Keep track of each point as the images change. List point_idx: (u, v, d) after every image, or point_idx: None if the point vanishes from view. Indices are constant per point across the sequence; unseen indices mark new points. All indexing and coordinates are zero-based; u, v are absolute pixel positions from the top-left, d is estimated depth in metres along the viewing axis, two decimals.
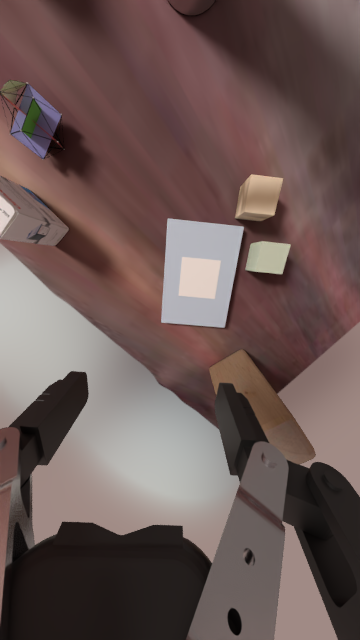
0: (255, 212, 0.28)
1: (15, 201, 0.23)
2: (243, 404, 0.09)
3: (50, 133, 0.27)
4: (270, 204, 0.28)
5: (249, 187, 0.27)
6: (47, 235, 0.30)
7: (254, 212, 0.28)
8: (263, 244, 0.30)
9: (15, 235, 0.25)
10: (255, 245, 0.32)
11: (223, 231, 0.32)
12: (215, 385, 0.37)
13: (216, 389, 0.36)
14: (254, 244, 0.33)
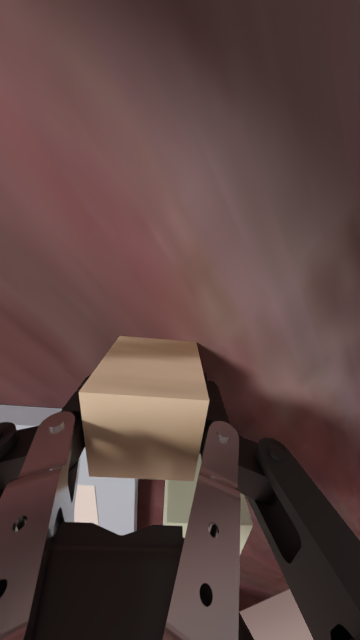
0: (128, 476, 0.08)
1: None
2: (212, 391, 0.10)
3: None
4: (175, 460, 0.08)
5: (87, 425, 0.07)
6: None
7: (125, 475, 0.08)
8: None
9: None
10: None
11: None
12: None
13: None
14: None
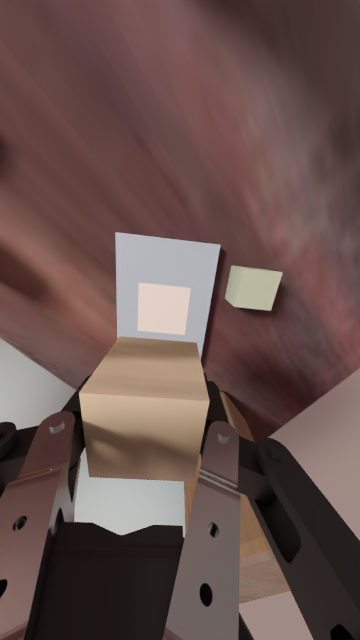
0: (128, 476, 0.08)
1: None
2: (212, 391, 0.10)
3: None
4: (175, 461, 0.08)
5: (87, 426, 0.07)
6: None
7: (125, 475, 0.08)
8: (245, 271, 0.22)
9: None
10: (236, 270, 0.24)
11: (192, 250, 0.24)
12: None
13: None
14: (235, 268, 0.24)
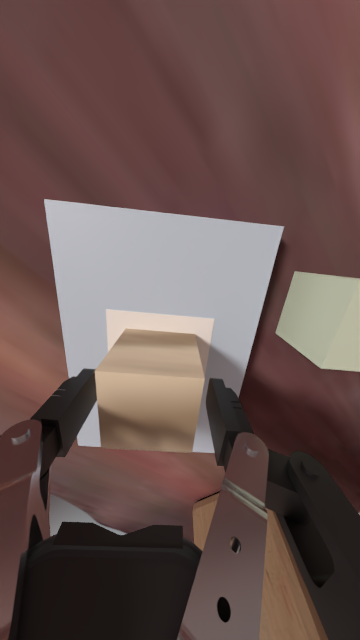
0: (135, 447, 0.10)
1: None
2: (231, 398, 0.10)
3: None
4: (175, 433, 0.09)
5: (100, 401, 0.08)
6: None
7: (132, 447, 0.10)
8: None
9: None
10: (317, 282, 0.11)
11: (221, 240, 0.11)
12: None
13: None
14: (311, 278, 0.11)
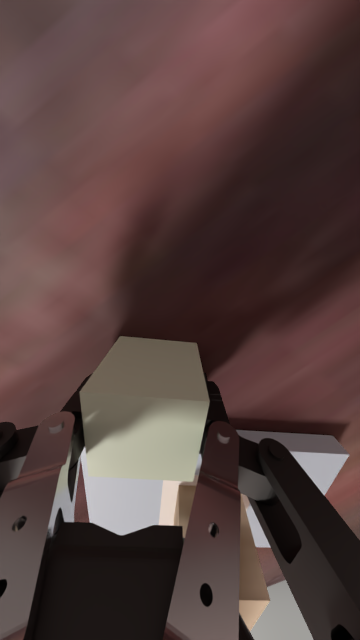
0: (254, 620, 0.11)
1: None
2: (213, 391, 0.10)
3: None
4: (240, 607, 0.10)
5: None
6: None
7: (253, 620, 0.11)
8: (96, 472, 0.08)
9: None
10: None
11: None
12: None
13: None
14: None
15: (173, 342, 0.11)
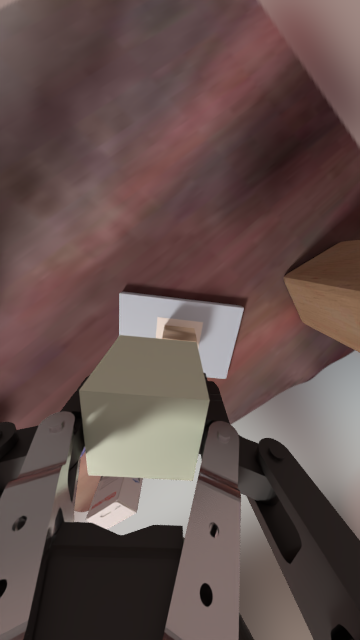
0: None
1: (111, 491, 0.31)
2: (213, 391, 0.10)
3: None
4: None
5: None
6: None
7: None
8: (96, 470, 0.08)
9: (135, 496, 0.31)
10: None
11: (126, 315, 0.29)
12: (333, 337, 0.24)
13: (341, 342, 0.23)
14: None
15: (173, 341, 0.11)
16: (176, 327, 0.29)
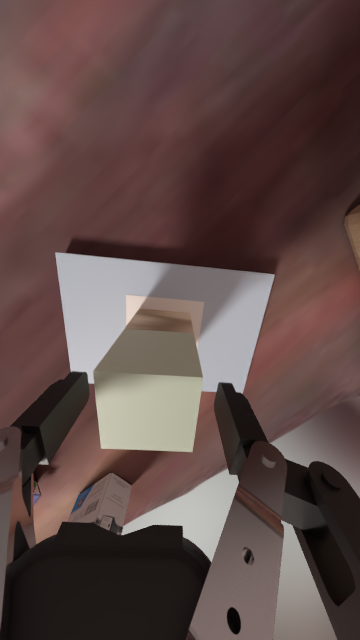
0: None
1: None
2: (242, 404, 0.09)
3: None
4: None
5: None
6: (112, 515, 0.24)
7: None
8: (108, 444, 0.09)
9: None
10: None
11: (72, 293, 0.17)
12: None
13: None
14: None
15: (172, 333, 0.12)
16: (159, 311, 0.17)
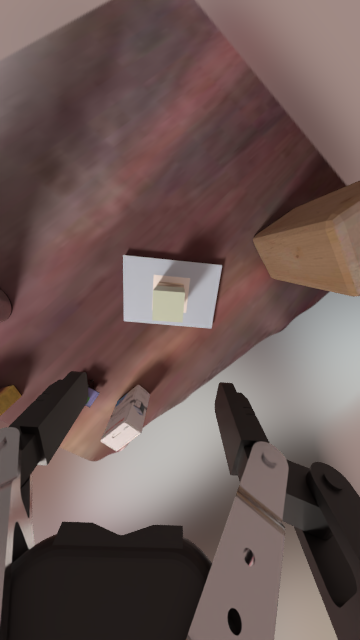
0: None
1: (120, 418, 0.38)
2: (243, 404, 0.09)
3: None
4: None
5: None
6: (141, 401, 0.44)
7: None
8: (154, 318, 0.29)
9: (139, 422, 0.39)
10: None
11: (128, 274, 0.36)
12: (288, 280, 0.31)
13: (293, 282, 0.30)
14: None
15: (175, 287, 0.32)
16: (168, 282, 0.36)
